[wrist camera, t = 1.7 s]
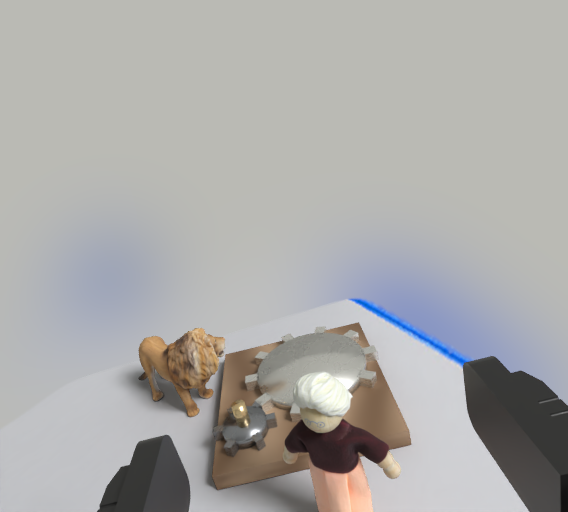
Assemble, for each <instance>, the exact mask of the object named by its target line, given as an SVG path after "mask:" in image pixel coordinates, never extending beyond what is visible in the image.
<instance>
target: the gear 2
mask: <svg viewBox="0 0 568 512" xmlns="http://www.w3.org/2000/svg"><path fill="white" fill-rule="evenodd" d="M281 338H282V342H283V344H281V345H279V346H278V347H276V348H275V349H273V350H272V351H271V352H270V353H267V352H261V351H260V352H259V353H258V354H257V355H256V356H255V360H256V364H257V365H260V366H259V368H258V372H257V374H253V375H248V376H245V384H246V387H247V390H248V391H250V390H254V389H258V388H260V391H261V394H262V396H260V397H259V398H258V399H256V400H255V401H256V402H257V403H258V402H259V403H258V404H260V406H261V409H262V410H263V411H264V412H265V413H266V412H268V411H269V410H270V409H272V408H273V407H274V406H275V407H277V408H280V409H282V410H287V411H290V415H291V419H292V422H299V421H300V420H302V417H301V414H300V407H299V406H297V405H296V403H295V402H294V400H293V388H294V386H295V384H296V382H297V381H298V380H299V379H300V378H301V377H303V376H304V375H307V374H310V373H316V372H326V373H329V374H330V375H331V376H332V377H334V378H336V379H338V380H339V381H340V382H341V383H343V384H344V385H345V386H346V388H347V390H348V391H349V392H350V393H351V395H352V394H353V393H354V392H355V391H356V390H357V389H358V388H359V387H360V386H363V387H368V388H373V387H374V385H375V384H376V382H377V378H376V372H373V371H367V362H371V361H376V360H378V355H377V351H376V349H375V347H374V346H369V347H365V348H362V347H361V346H360V345H359V344H358V343H357V342H358V341H359V335H358V332H355V331H353V330H349V331H348V332H347V333H345V334H344V335H340V334H335V333H327V331H326V327H316V329H315V333H314V334H308V335H303V336H299V337H296V338H293V336H292V335H291V334H288V335H285V336H283V337H281ZM349 409H350V408H349Z"/></svg>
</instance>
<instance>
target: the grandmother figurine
mask: <svg viewBox="0 0 568 512" xmlns="http://www.w3.org/2000/svg"><path fill="white" fill-rule="evenodd" d="M352 397H353V396H352V395H351V393H350V392H349V391H348V390H347V388H346V386H345V385H344V384H343V383H341V382H340V381H339V380H338V379H336V378H334V377H332V376H331V375H330V374H329V373H326V372H316V373H310V374H307V375H304V376H303V377H301V378H300V379H299V380H298V381H297V382H296V384H295V386H294V388H293V400H294V402H295V403H296V405H297V406H299V407H300V414H301V417H302V420H300V421H299V422H298V423H297V424H296V425H295V427H294V428H293V429H292V430H291V432H290V433H289V435H288V436H287V437H286V439H285V447H284V452H283V459H284V461H285V462H286V463H288V464H293V463H295V462H296V460H297V458H298V454H299V453H307V452H308V453H309V457H310V458H309V467H310V473H311V477H312V481H313V486H314V491H315V497H316V502H317V506H318V510H319V512H373V508H372V499H371V492H370V488H369V485H368V481H367V477H366V474H365V471H364V468H363V465H362V462H361V460H360V457H359V454H358V452H359V453H361V454H362V455H363V456H365V457H366V458H368V459H369V460H371V461H373V462H374V463H376V464H378V465H379V466H380V467H381V468H383V470H384V473H385V474H386V475H387V477H389V478H391V479H395V478H397V477H398V476H399V475H400V473H401V468H400V465H399V464H398V463H397V462H396V461H395V460H394V459H393V456H392V454H391V453H390V452H389V445H388V444H387V443H385V442H384V441H382V440H380V439H378V438H377V437H375V436H374V435H372V434H371V433H370V432H368V431H366V430H364V429H362V428H359V427H355V426H353V425H351V424H350V423H348V422H347V421H346V420H344V419H342V417H343V416H344V415H345V413H346V412H347V411H348V409H349V408H350V400H351V398H352Z"/></svg>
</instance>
